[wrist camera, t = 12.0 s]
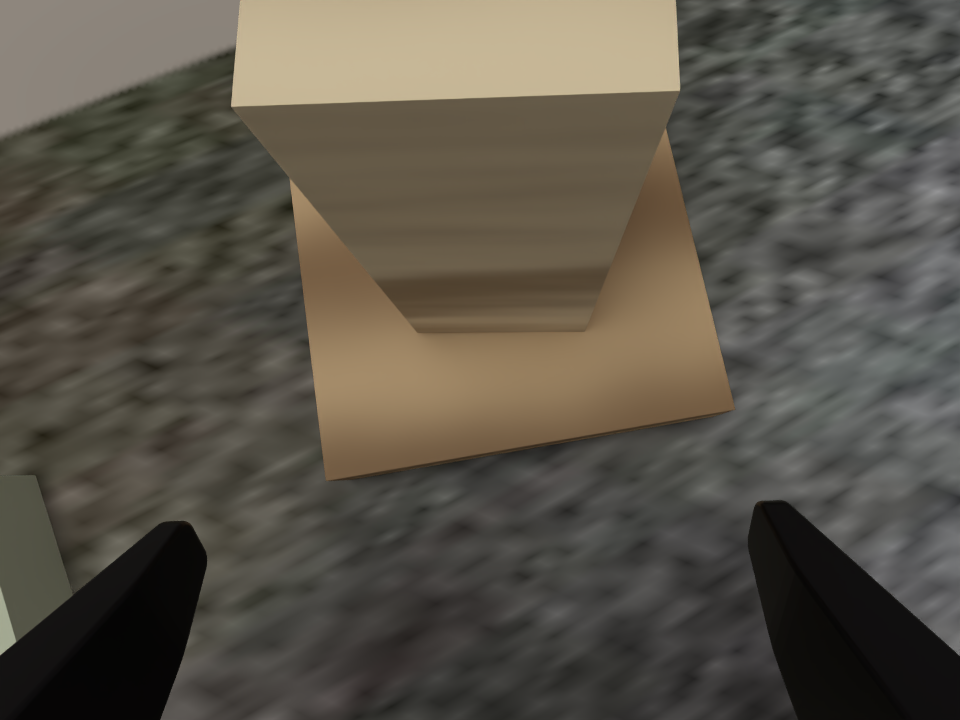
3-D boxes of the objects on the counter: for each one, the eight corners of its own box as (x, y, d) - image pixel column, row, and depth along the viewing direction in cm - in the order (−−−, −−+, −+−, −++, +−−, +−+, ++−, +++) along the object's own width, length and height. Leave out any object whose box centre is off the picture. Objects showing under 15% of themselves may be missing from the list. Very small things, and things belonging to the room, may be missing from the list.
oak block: (708, 418, 21) (735, 409, 18) (355, 479, 22) (325, 481, 19) (631, 94, 23) (643, 39, 20) (314, 161, 24) (282, 117, 21)
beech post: (584, 331, 19) (679, 90, 7) (416, 332, 19) (230, 107, 7) (581, 173, 19) (661, -286, 8) (421, 177, 20) (261, -253, 8)
